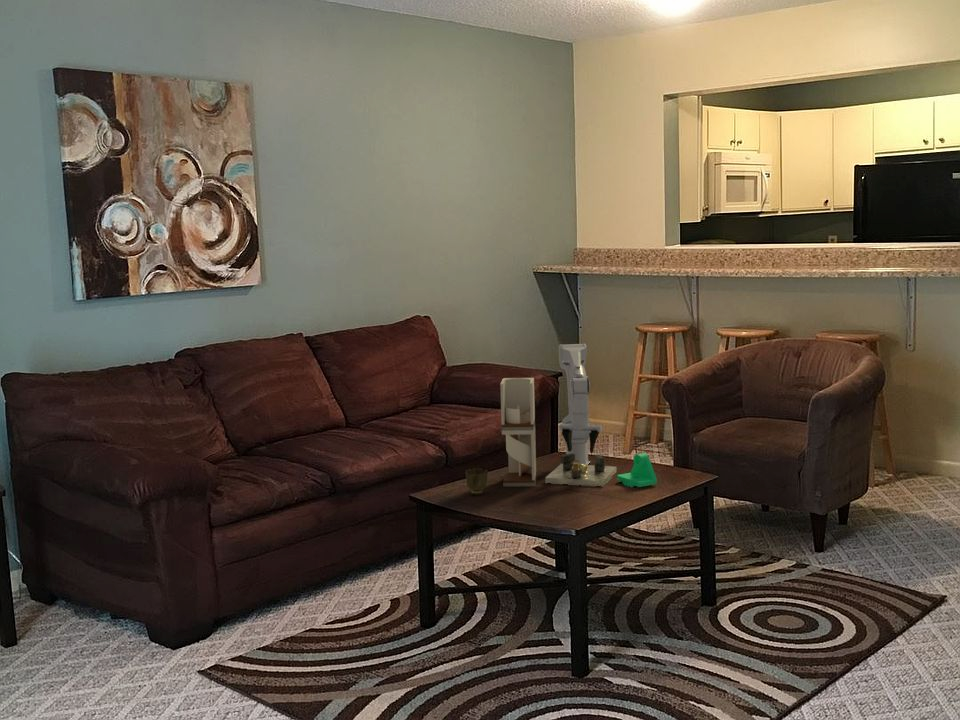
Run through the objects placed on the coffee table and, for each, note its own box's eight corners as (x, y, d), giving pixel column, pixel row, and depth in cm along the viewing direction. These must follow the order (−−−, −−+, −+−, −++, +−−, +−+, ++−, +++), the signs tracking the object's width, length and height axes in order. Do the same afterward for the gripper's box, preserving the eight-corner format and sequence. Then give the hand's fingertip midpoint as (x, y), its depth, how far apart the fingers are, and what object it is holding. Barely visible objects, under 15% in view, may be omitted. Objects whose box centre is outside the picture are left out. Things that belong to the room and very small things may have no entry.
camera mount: (616, 482, 358) (615, 453, 356) (634, 479, 362) (633, 449, 360) (638, 490, 348) (638, 459, 346) (656, 486, 351) (656, 456, 350)
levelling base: (561, 469, 378) (560, 450, 377) (616, 472, 371) (616, 452, 370) (545, 483, 359) (544, 463, 358) (603, 486, 352) (603, 466, 351)
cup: (493, 493, 348) (492, 469, 347) (477, 498, 343) (476, 474, 342) (477, 489, 354) (476, 466, 353) (461, 494, 349) (460, 470, 348)
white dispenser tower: (505, 477, 368) (502, 378, 363) (536, 477, 367) (533, 377, 362) (503, 486, 357) (500, 383, 352) (534, 486, 356) (532, 383, 351)
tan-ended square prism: (572, 474, 362) (571, 460, 361) (582, 474, 361) (582, 460, 360) (570, 478, 357) (570, 463, 356) (581, 478, 356) (580, 463, 355)
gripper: (556, 414, 361) (557, 453, 363) (598, 415, 356) (598, 455, 358) (562, 409, 367) (562, 448, 369) (603, 411, 362) (603, 450, 364)
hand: (580, 451), depth 364 cm, fingers open, 7 cm apart
